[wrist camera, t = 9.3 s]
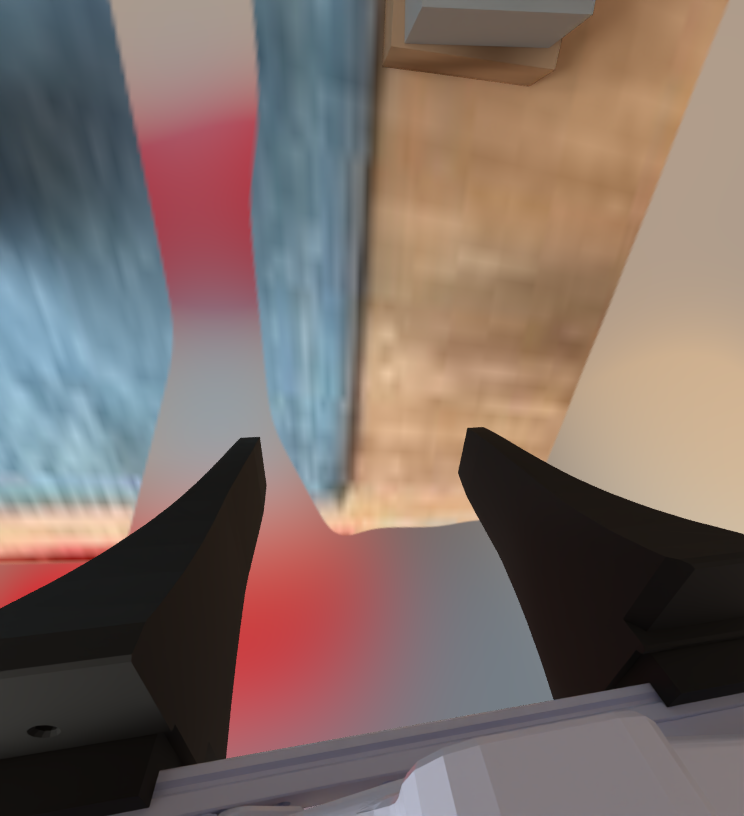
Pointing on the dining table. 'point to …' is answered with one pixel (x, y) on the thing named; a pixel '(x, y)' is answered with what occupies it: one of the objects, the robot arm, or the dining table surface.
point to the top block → (493, 21)
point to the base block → (464, 55)
